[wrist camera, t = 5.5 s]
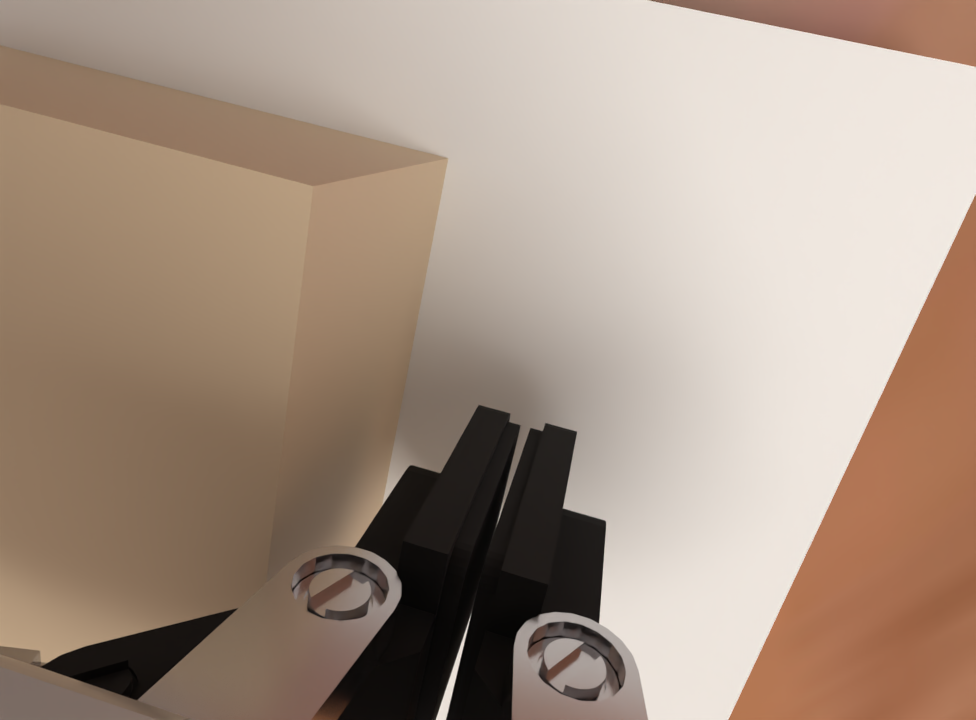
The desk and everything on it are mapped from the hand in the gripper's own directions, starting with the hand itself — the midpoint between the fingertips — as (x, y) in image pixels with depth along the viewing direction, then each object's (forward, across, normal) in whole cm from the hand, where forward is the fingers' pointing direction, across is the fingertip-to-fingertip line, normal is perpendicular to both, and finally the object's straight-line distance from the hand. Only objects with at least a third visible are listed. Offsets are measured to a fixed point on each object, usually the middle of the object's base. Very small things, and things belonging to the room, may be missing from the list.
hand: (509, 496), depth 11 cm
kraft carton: (+1, +7, 0) cm, 7 cm away
